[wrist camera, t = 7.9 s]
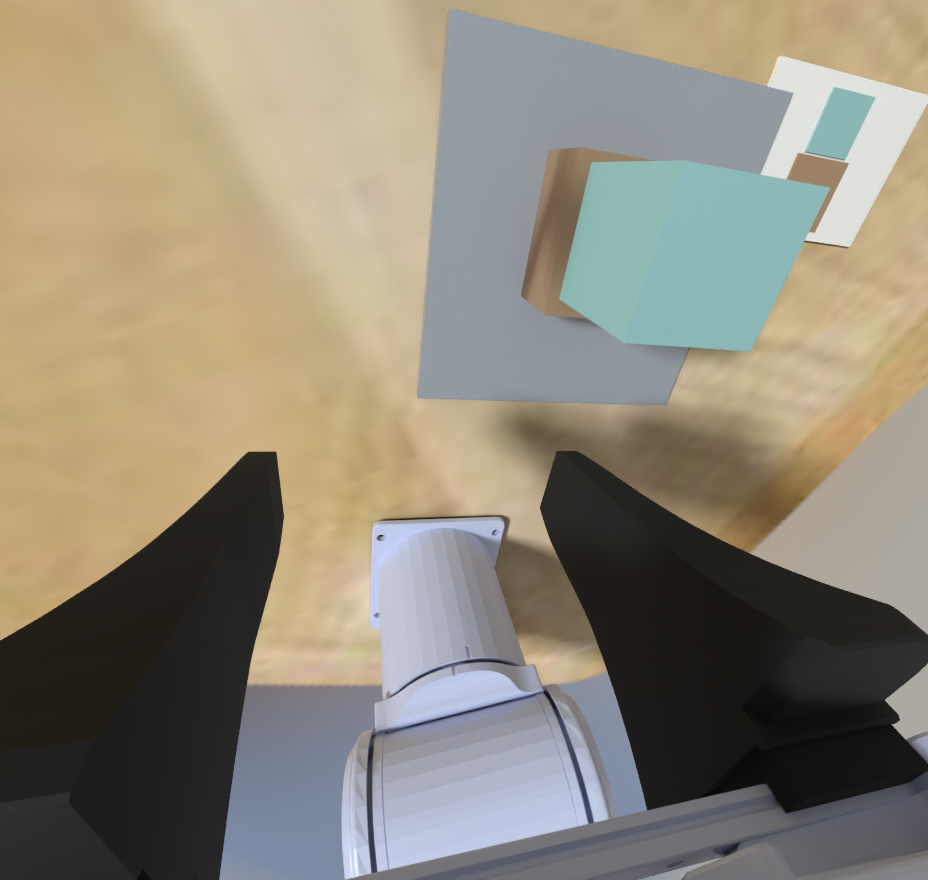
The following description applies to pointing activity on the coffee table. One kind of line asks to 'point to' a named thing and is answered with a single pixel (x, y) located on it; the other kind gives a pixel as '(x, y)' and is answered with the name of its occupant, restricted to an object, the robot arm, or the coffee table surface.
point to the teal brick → (685, 251)
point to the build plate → (518, 191)
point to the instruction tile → (839, 140)
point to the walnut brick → (559, 225)
